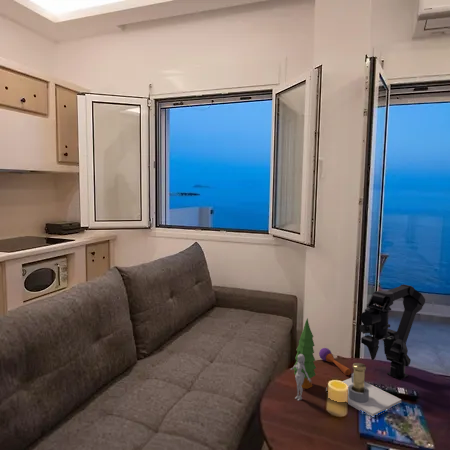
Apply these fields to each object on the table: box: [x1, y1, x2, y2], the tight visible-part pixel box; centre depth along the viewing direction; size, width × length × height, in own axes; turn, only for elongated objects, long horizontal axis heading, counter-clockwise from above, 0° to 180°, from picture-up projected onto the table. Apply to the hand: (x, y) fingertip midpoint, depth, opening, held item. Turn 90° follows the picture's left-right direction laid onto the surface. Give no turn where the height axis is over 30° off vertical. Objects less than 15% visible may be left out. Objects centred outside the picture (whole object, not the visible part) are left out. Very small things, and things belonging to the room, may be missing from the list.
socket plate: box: [325, 372, 402, 416], centre depth 148 cm, size 18×22×5 cm
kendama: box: [318, 347, 352, 376], centre depth 176 cm, size 6×6×20 cm
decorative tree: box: [292, 317, 317, 390], centre depth 157 cm, size 10×9×30 cm
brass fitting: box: [352, 362, 367, 393], centre depth 145 cm, size 5×5×13 cm
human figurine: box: [290, 354, 312, 401], centre depth 147 cm, size 12×4×18 cm, turn 28°
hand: (379, 356), depth 158 cm, fingers open, 9 cm apart
